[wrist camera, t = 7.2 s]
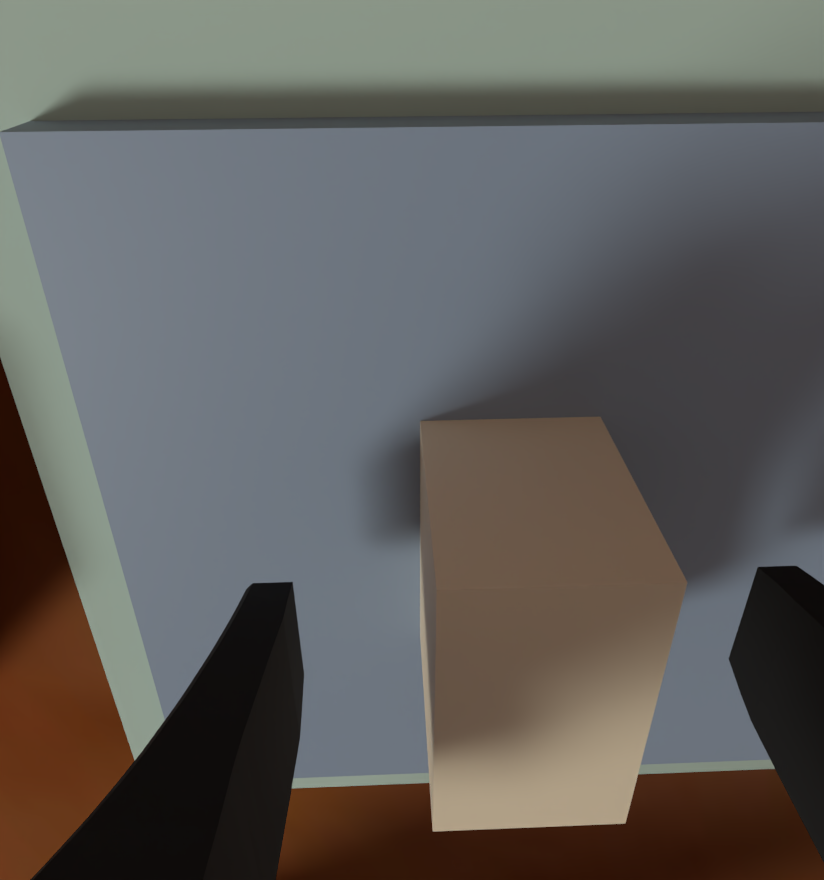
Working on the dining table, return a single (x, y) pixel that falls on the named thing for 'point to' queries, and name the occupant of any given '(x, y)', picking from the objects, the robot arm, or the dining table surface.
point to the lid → (453, 420)
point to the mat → (336, 95)
